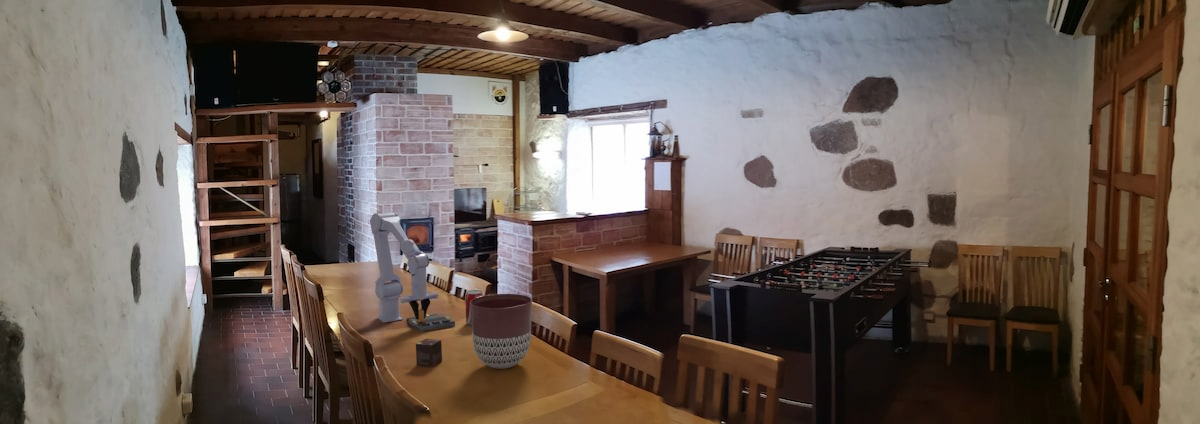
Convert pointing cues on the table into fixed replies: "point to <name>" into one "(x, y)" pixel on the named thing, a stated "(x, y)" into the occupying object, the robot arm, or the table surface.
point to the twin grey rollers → (414, 316)
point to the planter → (501, 328)
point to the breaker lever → (421, 315)
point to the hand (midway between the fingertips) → (420, 318)
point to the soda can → (468, 298)
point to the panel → (432, 323)
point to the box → (429, 352)
